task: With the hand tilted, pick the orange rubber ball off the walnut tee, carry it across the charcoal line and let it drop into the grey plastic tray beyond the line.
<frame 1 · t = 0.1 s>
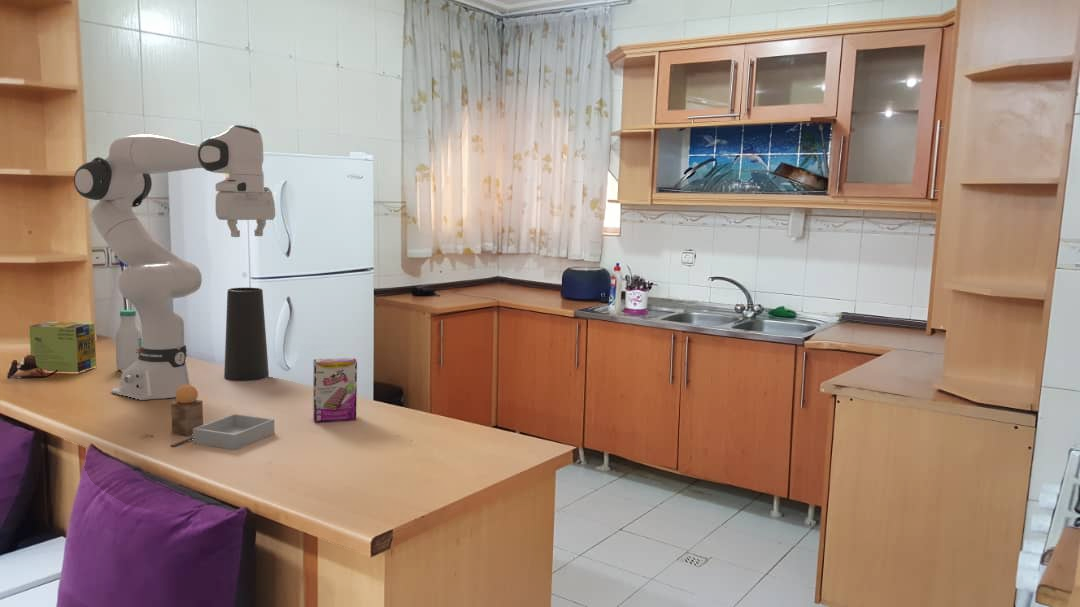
hand: (247, 236, 209), 48 cm above the counter, tool pointing down, fingers open, 8 cm apart
ball: (186, 394, 188), point 10 cm above the counter, touching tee
vase: (246, 376, 249), on the counter
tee: (187, 432, 189), on the counter
line: (206, 433, 188), on the counter
candy bar box: (335, 420, 204), on the counter
milk bottle: (130, 370, 254), on the counter
protein box: (64, 371, 249), on the counter
tray: (234, 438, 185), on the counter
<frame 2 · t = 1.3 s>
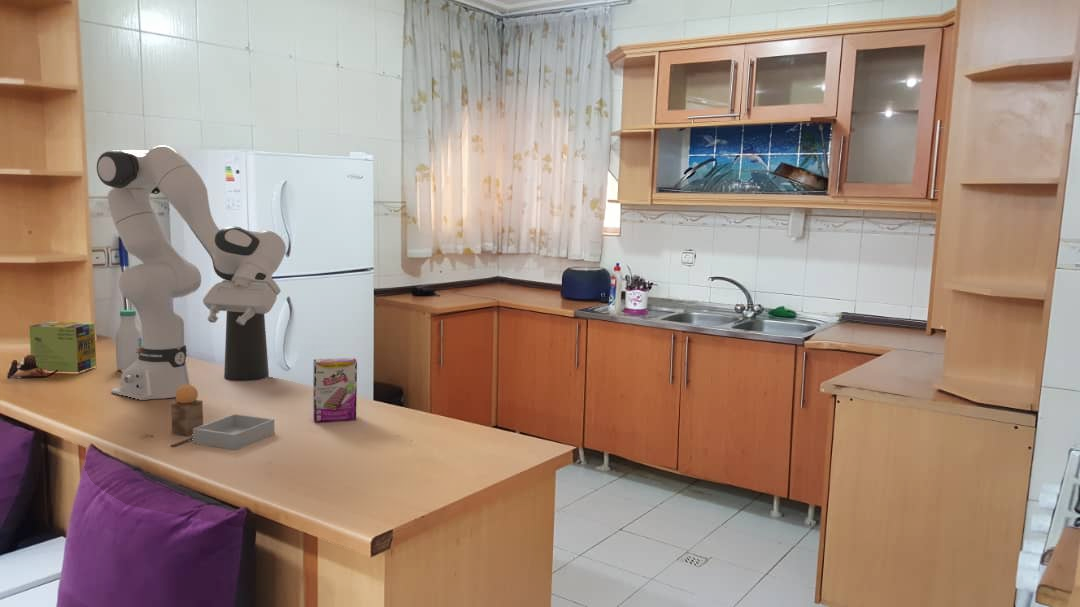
hand: (225, 322, 198), 26 cm above the counter, tool tilted 45°, fingers open, 8 cm apart
nothing on the counter moved.
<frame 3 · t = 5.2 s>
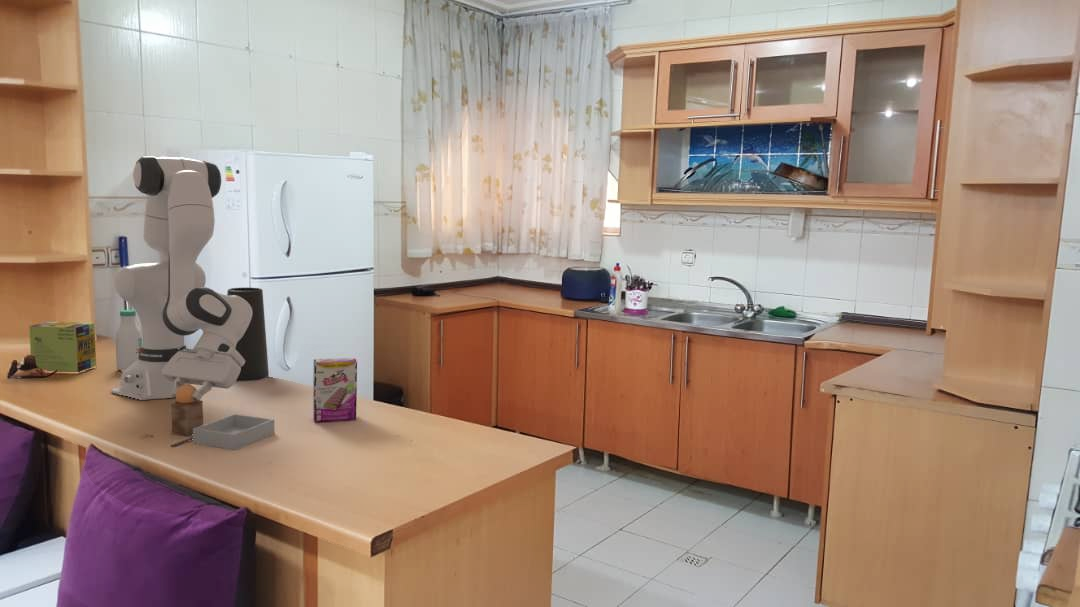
hand: (184, 397, 187), 9 cm above the counter, tool tilted 45°, fingers closed on ball, 5 cm apart
ball: (186, 394, 188), point 10 cm above the counter, touching gripper, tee
everything else where it was.
when the fingers open (7 cm above the counter, at t = 9.6 s): ball drops 5 cm, resting on tray.
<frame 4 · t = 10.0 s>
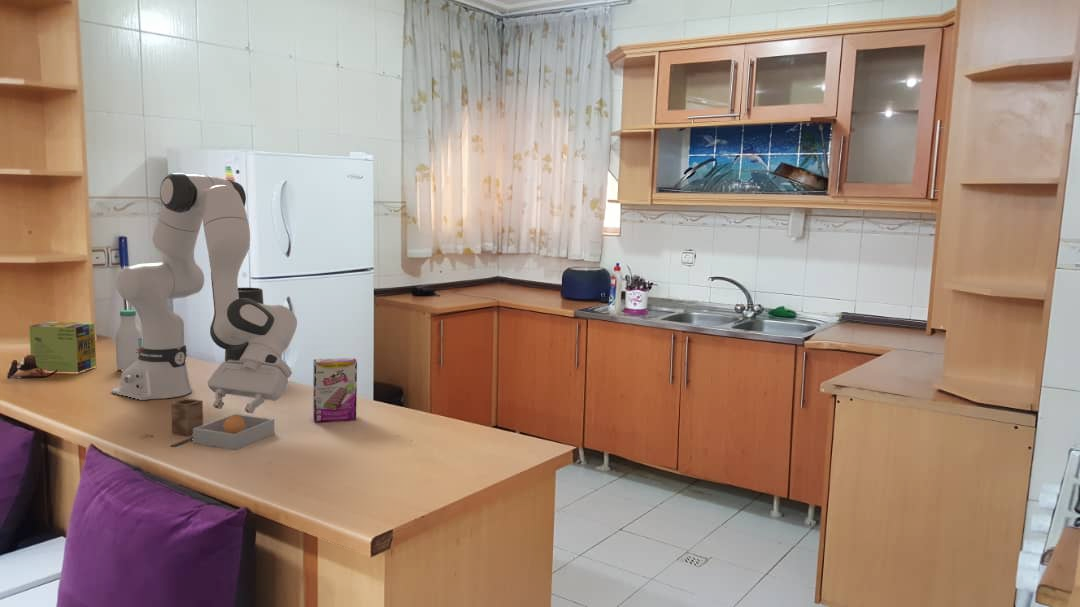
hand: (232, 409, 184), 7 cm above the counter, tool tilted 45°, fingers open, 8 cm apart
ball: (234, 425, 185), point 3 cm above the counter, touching tray
everything else where it was.
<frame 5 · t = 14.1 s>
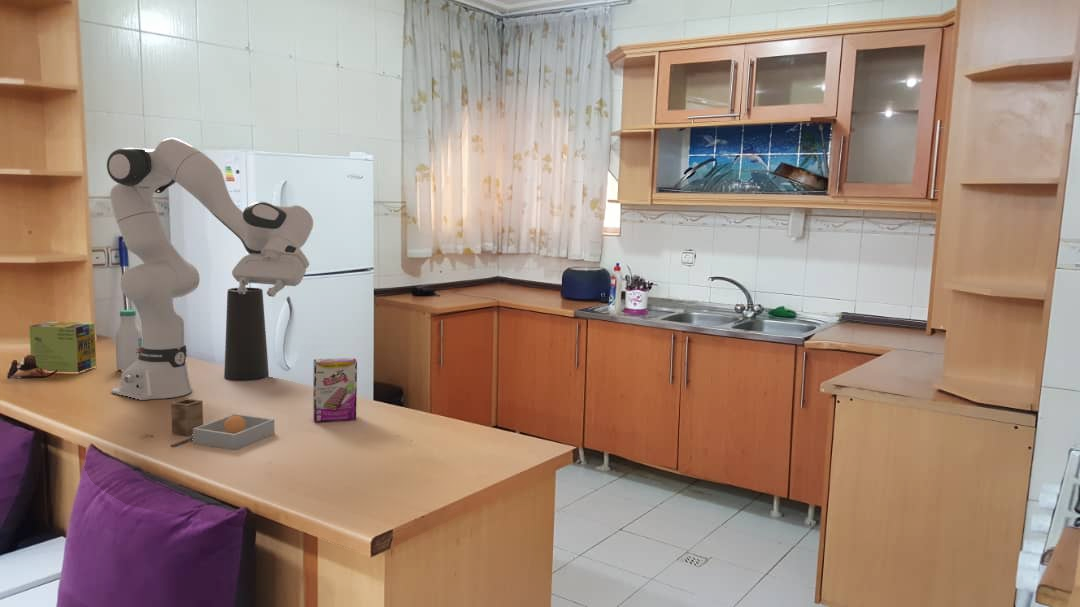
hand: (255, 293, 200), 33 cm above the counter, tool tilted 45°, fingers open, 8 cm apart
nothing on the counter moved.
at the end: ball inside the target area on the tray (0.2 cm from its centre), point 3.1 cm above the tray's base; ball inside the target area (8.1 cm from its centre), point 3.1 cm above the counter; the gripper is holding nothing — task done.
